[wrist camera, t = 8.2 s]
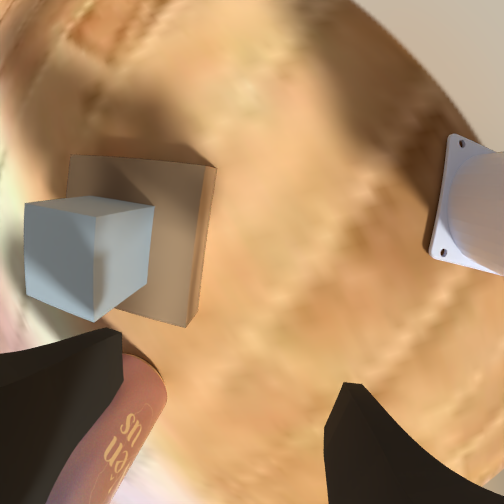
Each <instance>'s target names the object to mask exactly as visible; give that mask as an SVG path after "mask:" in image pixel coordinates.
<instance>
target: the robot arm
mask: <svg viewBox="0 0 504 504" xmlns="http://www.w3.org/2000/svg"><path fill="white" fill-rule="evenodd" d="M459 141H461V142H462V147H460V145H459ZM442 249H444V254H443V255H442V256H441V254H440V252H441V250H442ZM429 255H430V256H431V257H432V258H434V259H437V260H441V261H446V262H450V263H454V264H458V265H462V266H466V267H470V268H474V269H478V270H482V271H486V272H490V273H494V274H497V275H501V276H504V152H495V151H493V150H491V149H489V148H487V147H484V146H482V145H480V144H478V143H476V142H474V141H472V140H469V139H467V138H465V137H462V136H460V135H458V134H451V135H449V136H448V139H447V148H446V158H445V166H444V173H443V180H442V187H441V193H440V198H439V204H438V209H437V214H436V219H435V224H434V229H433V233H432V238H431V242H430V246H429ZM123 381H124V376H123V358H122V333H121V332H118V331H115V330H112V329H109V328H102V329H98V330H94V331H91V332H87V333H84V334H81V335H78V336H74V337H71V338H68V339H65V340H61V341H58V342H55V343H51V344H47V345H43V346H39V347H35V348H31V349H27V350H22V351H17V352H10V353H3V354H0V504H46V502H47V499H48V497H49V495H50V492H51V490H52V488H53V486H54V484H55V482H56V480H57V478H58V476H59V475H60V473H61V471H62V469H63V467H64V466H65V464H66V462H67V460H68V459H69V457H70V455H71V454H72V452H73V451H74V449H75V448H76V446H77V445H78V444H79V442H80V441H81V440H82V439H83V437H84V436H85V435H86V434H87V432H88V431H89V430H90V429H91V427H92V426H93V425H94V424H95V422H96V421H97V420H98V419H99V417H100V416H101V415H102V414H103V412H104V411H105V410H106V409H107V407H108V406H109V405H110V403H111V402H112V400H113V399H114V397H115V395H116V394H117V392H118V390H119V388H120V387H121V385H122V383H123ZM324 462H325V472H326V481H327V491H328V501H329V504H504V496H501V495H499V494H496V493H494V492H492V491H489V490H487V489H485V488H482V487H480V486H478V485H476V484H474V483H472V482H470V481H469V480H467V479H465V478H464V477H462V476H460V475H459V474H457V473H455V472H454V471H452V470H451V469H449V468H448V467H446V466H445V465H443V464H442V463H441V462H439V461H438V460H437V459H435V458H434V457H433V456H432V455H430V454H429V453H428V452H427V451H425V450H424V449H423V448H422V447H421V446H420V445H419V444H418V443H417V442H416V441H414V440H413V439H412V438H411V437H410V436H409V435H408V434H407V433H406V432H405V431H404V430H403V429H402V428H401V427H400V426H399V425H398V424H397V423H396V421H395V420H394V419H393V418H392V417H391V416H390V415H389V414H388V413H387V412H386V410H385V409H384V408H383V407H382V406H381V405H380V404H379V402H378V401H377V400H376V399H375V398H374V397H373V396H372V395H371V393H370V392H369V391H368V390H367V389H366V388H365V387H364V386H363V385H362V384H356V383H347V382H344V383H343V385H342V388H341V390H340V393H339V395H338V397H337V400H336V402H335V404H334V407H333V409H332V411H331V414H330V416H329V418H328V420H327V422H326V425H325V427H324Z"/></svg>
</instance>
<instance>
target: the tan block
mask: <svg viewBox="0 0 504 504" xmlns="http://www.w3.org/2000/svg"><path fill="white" fill-rule="evenodd" d="M216 173H217V169H216V168H213V167H209V166H204V165H196V164H188V163H179V162H169V161H159V160H149V159H137V158H124V157H109V156H91V155H71V157H70V165H69V173H68V182H67V193H66V198H72V197H82V196H96V197H102V198H109V199H115V200H121V201H127V202H133V203H139V204H145V205H151V206H155V208H154V216H153V224H152V233H151V242H150V252H149V263H148V276H147V284H146V285H144V286H143V287H141V288H140V289H139V290H137V291H136V292H135V293H133V294H132V295H130V296H129V297H128V298H126V299H125V300H124V301H122V302H121V303H120V304H118V305H117V306H116V307H114V308H116V309H119V310H122V311H126V312H129V313H132V314H136V315H139V316H143V317H146V318H150V319H153V320H157V321H161V322H165V323H168V324H172V325H176V326H180V327H184V328H186V327H187V325H188V324H189V323H190V321H191V320H192V319H193V317H194V316H195V314H196V313H197V312H198V305H199V297H200V288H201V279H202V271H203V263H204V255H205V248H206V240H207V233H208V226H209V219H210V212H211V205H212V198H213V192H214V186H215V179H216Z"/></svg>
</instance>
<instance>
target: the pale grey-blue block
mask: <svg viewBox="0 0 504 504" xmlns="http://www.w3.org/2000/svg"><path fill="white" fill-rule="evenodd" d="M154 208H155V206H151V205H145V204H139V203H133V202H127V201H121V200H115V199H109V198H102V197H96V196H82V197H72V198H63V199H54V200H46V201H38V202H30V203H25V210H24V265H25V281H26V293H27V295H29V296H31V297H33V298H35V299H37V300H40V301H42V302H44V303H47V304H49V305H51V306H54V307H56V308H58V309H61V310H63V311H66V312H68V313H71V314H73V315H76V316H78V317H81V318H83V319H86V320H89V321H91V322H95V321H97V320H98V319H99V318H101V317H102V316H103V315H105V314H106V313H107V312H109V311H110V310H111V309H113V308H114V307H116V306H117V305H118V304H120V303H121V302H122V301H124V300H125V299H126V298H128V297H129V296H130V295H132V294H133V293H135V292H136V291H137V290H139V289H140V288H141V287H143V286H144V285H146V284H147V276H148V263H149V252H150V242H151V233H152V224H153V216H154Z"/></svg>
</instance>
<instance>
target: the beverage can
mask: <svg viewBox="0 0 504 504" xmlns="http://www.w3.org/2000/svg"><path fill="white" fill-rule="evenodd" d="M122 358H123V376H124V381H123V383H122V385H121V387H120V388H119V390H118V392H117V394H116V395H115V397H114V399H113V400H112V402H111V403H110V405H109V406H108V407H107V409H106V410H105V411H104V412H103V414H102V415H101V416H100V417H99V419H98V420H97V421H96V422H95V424H94V425H93V426H92V427H91V429H90V430H89V431H88V432H87V434H86V435H85V436H84V437H83V439H82V440H81V441H80V442H79V444H78V445H77V446H76V448H75V449H74V451H73V452H72V454H71V455H70V457H69V459H68V460H67V462H66V464H65V466H64V467H63V469H62V471H61V473H60V475H59V476H58V478H57V480H56V482H55V484H54V486H53V488H52V490H51V492H50V495H49V497H48V499H47V502H46V504H109V503H110V502H111V500H112V498H113V496H114V495H115V493H116V491H117V489H118V488H119V486H120V484H121V482H122V481H123V479H124V477H125V475H126V473H127V472H128V470H129V468H130V466H131V465H132V463H133V461H134V459H135V458H136V456H137V454H138V452H139V451H140V449H141V447H142V445H143V444H144V442H145V440H146V438H147V437H148V435H149V433H150V431H151V430H152V428H153V426H154V424H155V423H156V421H157V419H158V417H159V415H160V414H161V412H162V410H163V408H164V407H165V405H166V402H167V392H166V388H165V384H164V382H163V380H162V378H161V376H160V374H159V373H158V372H157V371H156V369H155V368H154V367H153V366H151V365H150V364H149V363H148V362H146V361H145V360H143V359H141V358H139V357H137V356H135V355H131V354H125V353H122Z"/></svg>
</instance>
